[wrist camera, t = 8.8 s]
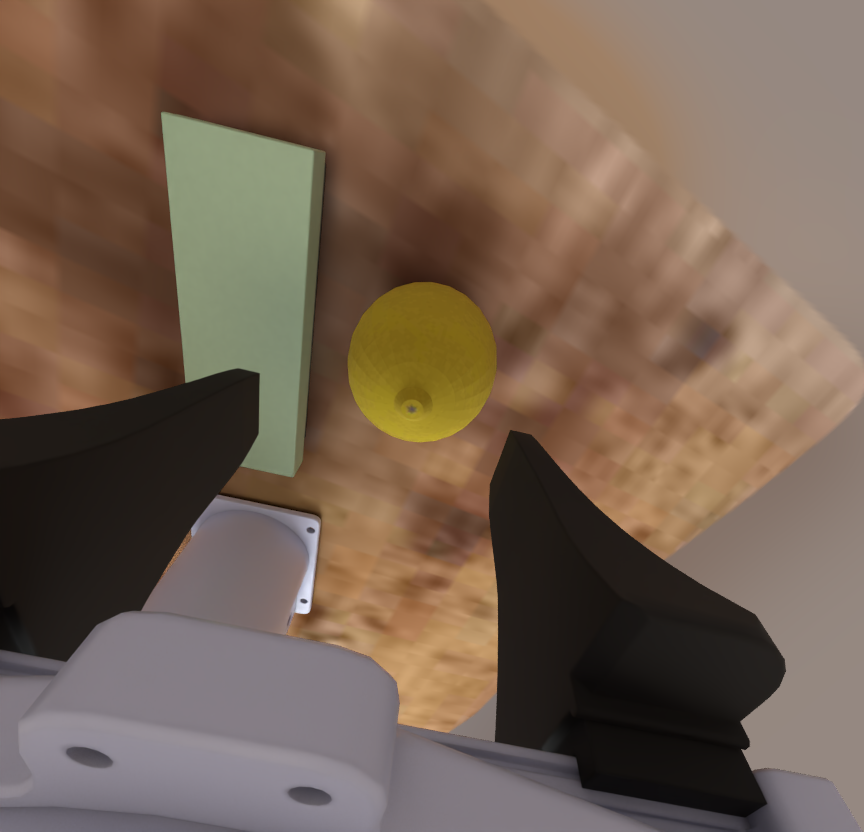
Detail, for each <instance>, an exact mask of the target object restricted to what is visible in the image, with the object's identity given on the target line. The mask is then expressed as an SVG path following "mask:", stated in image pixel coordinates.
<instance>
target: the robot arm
mask: <svg viewBox="0 0 864 832" xmlns="http://www.w3.org/2000/svg"><path fill="white" fill-rule="evenodd" d="M259 391H260V373H257V372H253V371H249V370H244V369H240V368H236V369H231V370H227V371H223V372H220V373H216V374H213V375H210V376H207V377H204V378H200V379H197V380H194V381H191V382H188V383H184V384H181V385H178V386H175V387H172V388H168V389H165V390H161V391H157V392H154V393H150V394H146V395H143V396H139V397H136V398H132V399H128V400H124V401H119V402H115V403H110V404H105V405H100V406H95V407H90V408H85V409H79V410H73V411H66V412H58V413H51V414H44V415H36V416H29V417H21V418H11V419H0V832H863V831H862V830H861V828H860V827H859V825H858V823H857V822H856V820H855V818H854V817H853V815H852V813H851V812H850V810H849V808H848V807H847V805H846V803H845V802H844V800H843V798H842V797H841V795H840V794H839V792H838V790H837V789H836V787H835V786H834V784H833V782H831V781H829V780H828V779H826V778H821V777H816V776H811V775H806V774H801V773H795V772H790V771H785V770H780V769H770V768H764V769H757V770H754V771H751V769H750V767H749V764H748V762H747V760H746V758H745V756H744V754H743V752H742V750H741V749H744V750H746V749H747V748H748V747H749V746H750V741H749V738H748V737H747V735H746V733H745V731H744V729H743V727H742V725H741V723H740V721H741V720H743V719H744V718H745V717H746V716H747V715H749V714H750V713H751V712H752V711H753V710H754V709H756V708H757V707H758V706H759V705H761V704H762V703H763V702H764V701H765V700H767V699H768V698H769V697H770V696H771V695H772V694H773V693H774V692H775V691H776V690H777V688H779V686H780V684H781V682H782V679H783V677H784V674H785V672H786V669H785V659H784V658H783V656H782V655H781V653H780V652H779V650H778V649H777V647H776V645H775V644H774V642H773V641H772V639H771V638H770V636H769V635H768V633H767V632H766V630H765V628H764V627H763V625H762V624H761V622H760V621H759V619H758V618H757V616H756V615H755V614H753V613H752V612H750V611H748V610H746V609H744V608H743V607H741V606H739V605H737V604H735V603H734V602H732V601H730V600H728V599H726V598H725V597H723V596H721V595H719V594H717V593H716V592H714V591H712V590H710V589H708V588H707V587H705V586H703V585H702V584H700V583H698V582H697V581H695V580H694V579H692V578H690V577H689V576H687V575H686V574H684V573H682V572H681V571H679V570H678V569H676V568H674V567H673V566H672V565H670V564H668V563H667V562H666V561H664V560H663V559H661V558H660V557H658V556H657V555H655V554H654V553H653V552H651V551H650V550H649V549H647V548H646V547H645V546H643V545H642V544H641V543H639V542H638V541H637V540H635V539H634V538H633V537H631V536H630V535H629V534H628V533H626V532H625V531H624V530H623V529H621V528H620V527H619V526H618V525H617V524H616V523H614V522H613V521H612V520H611V519H610V518H609V517H607V516H606V515H605V514H604V513H603V512H602V511H601V510H600V509H599V508H598V507H596V506H595V505H594V504H593V503H592V502H591V501H590V500H589V499H588V498H587V497H586V496H585V495H584V494H583V493H582V492H581V491H580V490H579V489H578V487H577V486H576V485H575V484H574V483H573V482H572V481H571V480H570V479H569V478H568V476H567V475H566V474H565V473H564V472H563V471H562V470H561V469H560V467H559V466H558V465H557V464H556V463H555V461H554V460H553V459H552V458H551V457H550V456H549V454H548V453H547V452H546V451H545V450H544V448H543V447H542V446H541V445H540V444H539V443H538V441H537V440H536V439H535V438H534V437H533V436H532V435H530V434H526V433H521V432H517V431H512V430H510V433H509V435H508V438H507V441H506V443H505V446H504V449H503V451H502V454H501V457H500V459H499V462H498V465H497V467H496V470H495V472H494V475H493V478H492V480H491V483H490V495H489V519H490V528H491V537H492V546H493V554H494V563H495V571H496V580H497V592H498V678H497V709H496V731H495V742H492V741H486V740H482V739H476V738H471V737H466V736H460V735H455V734H450V733H444V732H439V731H433V730H428V729H423V728H417V727H412V726H407V725H401V724H397V721H398V713H399V704H400V702H399V695H398V688H397V682H396V681H395V680H394V679H393V677H392V676H391V675H390V674H389V673H388V672H386V671H385V670H384V669H383V668H382V667H381V666H380V665H379V664H378V663H376V662H375V661H374V660H373V659H372V658H371V657H369V656H366V655H363V654H360V653H358V652H355V651H352V650H349V649H347V648H344V647H341V646H338V645H334V644H329V643H324V642H318V641H313V640H308V639H303V638H298V637H293V636H288V635H286V633H287V631H288V628H289V626H290V623H291V621H292V618H293V615H294V613H295V612H297V613H302V614H307V613H309V612H310V610H311V607H312V598H313V589H314V580H315V572H316V563H317V554H318V545H319V536H320V527H321V520H320V518H319V517H318V516H316V515H313V514H308V513H303V512H299V511H294V510H289V509H284V508H280V507H275V506H270V505H265V504H260V503H256V502H251V501H246V500H241V499H237V498H232V497H227V496H222V495H218V493H219V492H220V491H221V489H222V488H223V487H224V486H225V484H226V483H227V482H228V481H229V479H230V478H231V477H232V475H233V474H234V473H235V472H236V470H237V469H238V468H239V466H240V465H241V464H242V462H243V461H244V459H245V458H246V456H247V454H248V453H249V451H250V449H251V447H252V445H253V444H254V442H255V440H256V438H257V436H258V434H259ZM310 527H311V528H310ZM312 528H313V529H312ZM190 529H191V534H192V539H191V540H190V541H189V543H188V544H187V545H186V547H185V548H184V549H183V551H182V552H181V553H180V555H179V556H178V557H177V559H176V560H175V561H174V563H173V564H172V565H171V567H170V568H169V569H168V571H167V572H166V573H165V575H164V576H163V577H162V579H161V580H160V581H159V579H160V577H161V576H162V574H163V572H164V571H165V569H166V567H167V565H168V564H169V562H170V561H171V559H172V557H173V556H174V554H175V553H176V551H177V549H178V548H179V546H180V545H181V543H182V541H183V540H184V538H185V537H186V535H187V534H188V532H189V531H190ZM158 581H159V583H158V584H157V582H158ZM156 584H157V585H156ZM155 586H156V587H155Z"/></svg>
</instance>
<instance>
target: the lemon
mask: <svg viewBox="0 0 864 832" xmlns="http://www.w3.org/2000/svg"><path fill="white" fill-rule="evenodd" d="M496 369H497V359H496V344H495V340H494V337H493V333H492V330H491V327H490V324H489V323H488V321H487V320H486V318H485V316H484V315H483V313H482V312H481V310H480V308H479V307H478V306H477V305H475V304H474V303H473V302H472V301H471V300H470V299H469V298H468V297H467V296H466V295H465V294H463V293H461V292H459V291H457V290H455V289H454V288H452V287H450V286H446V285H442V284H438V283H434V282H413V283H410V284H406V285H403V286H399V287H396V288H394V289H392V290H391V291H389V292H387V293H386V294H384V295H382V296H381V297H379V298H378V299H377V300H376V301H375V302H374V303H373V304H372V305H371V306H370V307H369V308H368V309H367V310H366V311H365V313H364V314H363V315H362V317H361V319H360V321H359V323H358V325H357V327H356V329H355V331H354V333H353V335H352V339H351V344H350V349H349V354H348V375H349V384H350V387H351V390H352V393H353V396H354V399H355V401H356V403H357V405H358V406H359V408H360V409H361V411H362V412H363V414H364V415H365V417H367V418H368V419H369V420H370V421H371V422H372V423H373V424H374V425H375V426H376V427H377V428H379V429H380V430H382V431H384V432H385V433H387V434H389V435H390V436H393V437H396V438H399V439H402V440H405V441H413V442H428V441H436V440H439V439H442V438H445V437H449V436H451V435H453V434H455V433H456V432H458V431H460V430H461V429H463V428H464V427H466V426H467V425H468V424H469V423H470V422H471V421H472V420H473V419H474V418H475V417H476V416H477V415H478V414H479V412H480V411H481V409H482V407H483V406H484V404H485V402H486V400H487V399H488V397H489V395H490V393H491V390H492V386H493V382H494V378H495V374H496Z"/></svg>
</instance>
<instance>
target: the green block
mask: <svg viewBox="0 0 864 832" xmlns="http://www.w3.org/2000/svg"><path fill="white" fill-rule="evenodd" d="M161 119H162V129H163V140H164V151H165V162H166V173H167V184H168V195H169V206H170V217H171V228H172V239H173V250H174V261H175V272H176V283H177V294H178V305H179V316H180V327H181V338H182V348H183V359H184V370H185V381H186V383H188V382H191V381H194V380H197V379H200V378H204V377H207V376H210V375H213V374H216V373H220V372H223V371H227V370H231V369H236V368H240V369H244V370H249V371H253V372H257V373H260V391H259V434H258V436H257V438H256V440H255V442H254V444H253V445H252V447H251V449H250V451H249V453H248V454H247V456H246V458H245V459H244V461H243V462H242V464H241V465H240V466H241V467H246V468H250V469H255V470H260V471H265V472H269V473H274V474H279V475H283V476H288V477H294V476H295V474H296V472H297V470H298V468H299V467H300V465H301V463H302V461H303V449H304V438H305V436H306V423H307V410H308V397H309V384H310V371H311V358H312V345H313V332H314V318H315V305H316V292H317V279H318V266H319V253H320V240H321V227H322V214H323V201H324V187H325V174H326V163H325V155H326V153H325V151H323V150H319V149H315V148H311V147H307V146H303V145H299V144H295V143H291V142H287V141H283V140H279V139H275V138H271V137H267V136H263V135H259V134H255V133H251V132H247V131H243V130H239V129H235V128H231V127H227V126H223V125H219V124H215V123H211V122H207V121H203V120H199V119H195V118H191V117H188V116H183V115H178V114H173V113H168V112H161Z"/></svg>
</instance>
